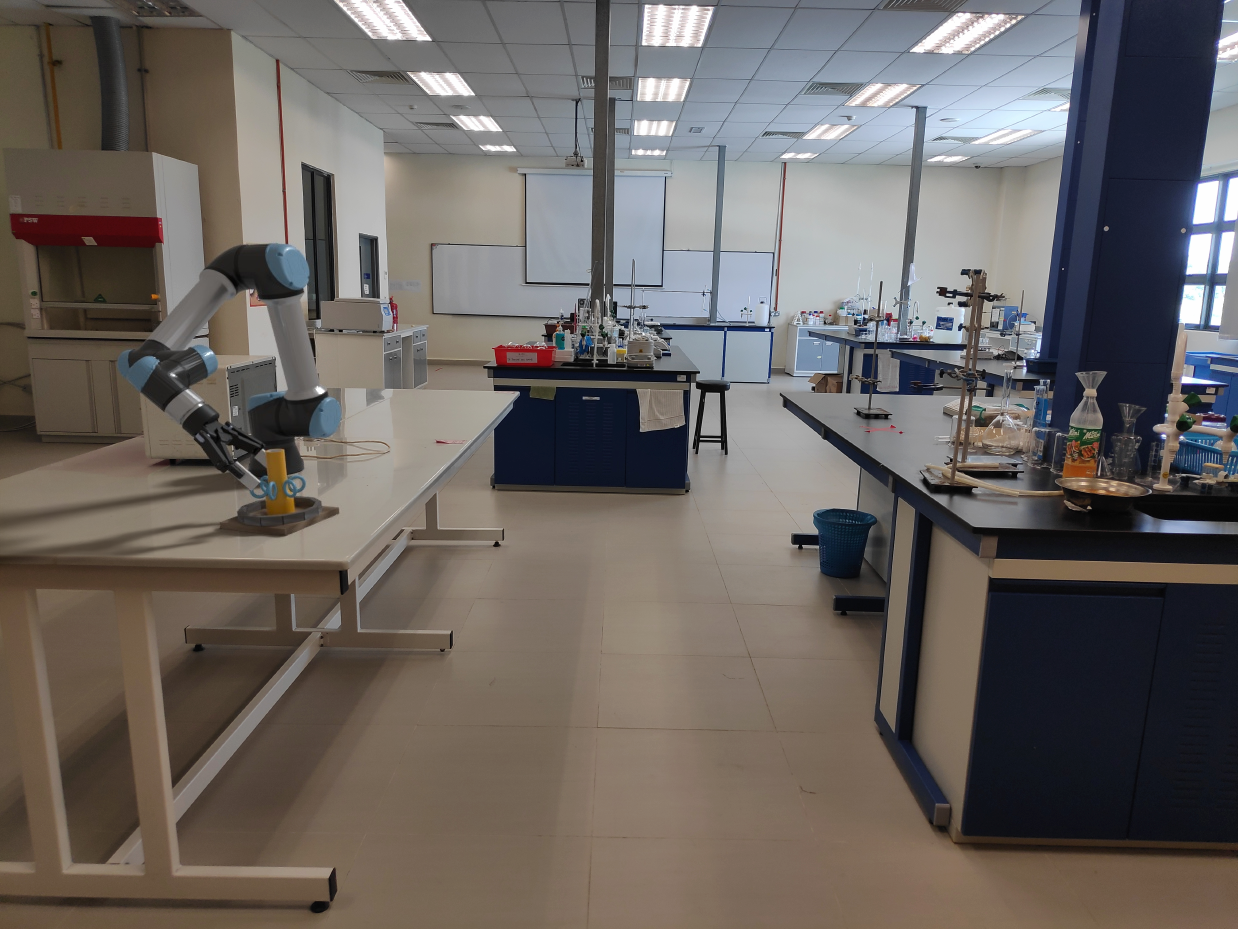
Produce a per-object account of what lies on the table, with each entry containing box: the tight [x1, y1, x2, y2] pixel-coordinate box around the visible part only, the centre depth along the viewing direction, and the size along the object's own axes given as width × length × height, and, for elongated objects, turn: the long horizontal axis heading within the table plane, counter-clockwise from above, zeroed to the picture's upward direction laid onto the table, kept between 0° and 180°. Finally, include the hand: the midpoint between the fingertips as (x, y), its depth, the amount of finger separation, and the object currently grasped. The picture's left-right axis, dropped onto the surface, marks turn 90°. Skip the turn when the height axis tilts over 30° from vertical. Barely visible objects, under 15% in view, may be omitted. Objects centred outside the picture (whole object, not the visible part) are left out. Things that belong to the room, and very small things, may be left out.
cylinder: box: [249, 449, 307, 516], centre depth 180 cm, size 12×10×15 cm
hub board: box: [219, 495, 340, 537], centre depth 181 cm, size 18×18×4 cm
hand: (268, 479), depth 179 cm, fingers open, 13 cm apart
